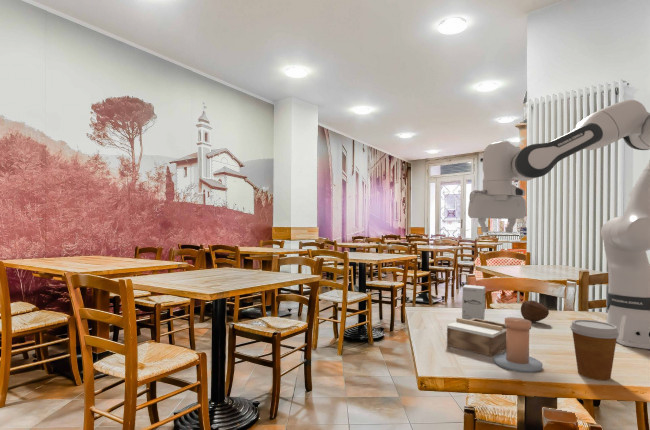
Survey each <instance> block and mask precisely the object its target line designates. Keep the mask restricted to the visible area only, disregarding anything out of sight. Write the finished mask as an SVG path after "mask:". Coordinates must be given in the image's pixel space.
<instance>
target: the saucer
mask: <svg viewBox="0 0 650 430" xmlns="http://www.w3.org/2000/svg"><path fill="white" fill-rule="evenodd" d="M493 363H494V364H495V365H497V366H498V367H500V368H502V369H505V370H509V371H512V372H513V371H514V372H518V373H527V374H528V373H530V374H531V373H533V374H534V373H539V372H542V370H543V363H542V362H541V361H540V360H539V359H536V358H534V357H532V356H529V363H527V364H518V363H513V362H510V361H508V360H507V359H506V352H500V353H498V354H496V355H494V356H493Z"/></svg>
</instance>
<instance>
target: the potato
mask: <svg viewBox="0 0 650 430" xmlns="http://www.w3.org/2000/svg"><path fill="white" fill-rule="evenodd" d="M520 313H521V316H522V319H526V320H529V321H531V323H535V322H540V321H542V320H544V319H546V318H547V317H548V316H549V314H550V312H549V309H548V308H547V306H545V305H543V304H542V303H540V302H538V301H536V300H532V299H531V300H524V301H523V302H522V303H521V307H520Z"/></svg>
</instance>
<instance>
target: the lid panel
mask: <svg viewBox="0 0 650 430" xmlns="http://www.w3.org/2000/svg"><path fill="white" fill-rule="evenodd" d="M446 328H450V329H455V330H460V331H464V332H469V333H473V334H478V335H482V336H487V337H492V338H493V337H495V336H497V335H499V334H501V333H502V326H497V325H492V324H487V323H482V322H477V321H471V320H466V319H462V317H457V318H456V321H455V322H452V323H448V324H447V326H446Z"/></svg>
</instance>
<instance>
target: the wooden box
mask: <svg viewBox="0 0 650 430" xmlns="http://www.w3.org/2000/svg"><path fill="white" fill-rule="evenodd" d="M470 320H471V321H477V322H482V323H487V324H492V325H497V326H502V333H501V334H499V335H497V336H495V337H493V338H492V337H487V336H482V335H478V334H473V333H469V332H464V331H460V330H455V329H450V328H447V327H446V328H447V329H446V333H447V334H446V346H449V347H453V348H456V349H457V348H458V349H462V350H465V351H469V352H473V353H476V354H481V355H485V356H489V357H493V358H494V355H496V354H499V353H503V351H506V326H505V323H504V322H503V323H502V322H497V321H491V320H486V319H484V320H482V319H476V318H472V319H470Z"/></svg>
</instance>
